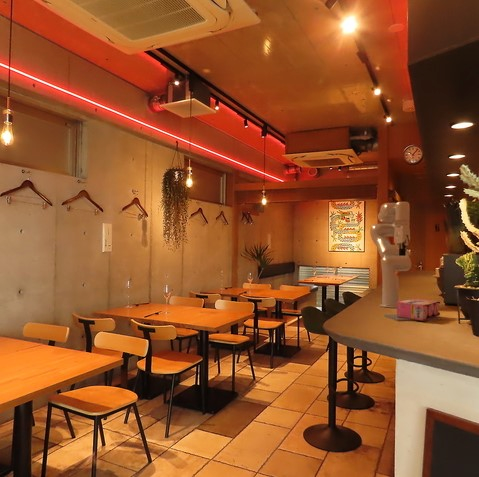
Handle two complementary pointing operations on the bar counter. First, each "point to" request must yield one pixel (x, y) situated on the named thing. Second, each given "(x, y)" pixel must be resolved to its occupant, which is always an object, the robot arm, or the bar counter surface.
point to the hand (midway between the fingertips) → (402, 255)
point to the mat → (410, 319)
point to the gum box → (418, 309)
